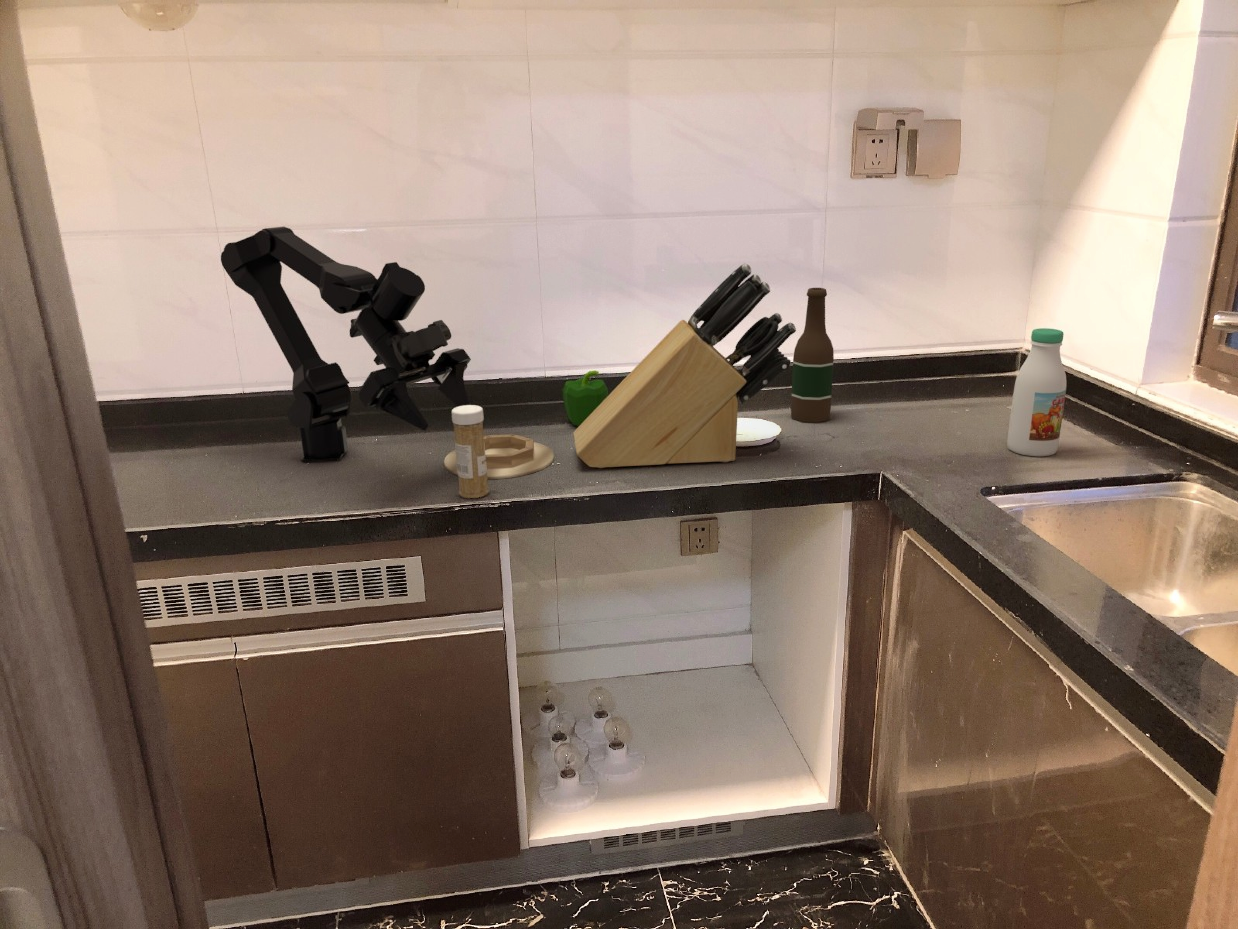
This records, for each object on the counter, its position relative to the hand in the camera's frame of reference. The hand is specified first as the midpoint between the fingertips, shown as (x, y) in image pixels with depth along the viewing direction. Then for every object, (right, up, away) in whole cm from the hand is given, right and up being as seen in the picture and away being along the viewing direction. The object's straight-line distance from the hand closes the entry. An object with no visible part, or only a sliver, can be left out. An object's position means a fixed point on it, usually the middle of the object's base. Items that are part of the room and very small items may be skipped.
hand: (448, 420), depth 137 cm
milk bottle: (+94, -4, +15) cm, 95 cm away
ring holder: (+5, -6, +16) cm, 18 cm away
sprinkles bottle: (+3, -11, +2) cm, 12 cm away
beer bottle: (+61, +2, +35) cm, 71 cm away
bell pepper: (+19, +1, +35) cm, 40 cm away
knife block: (+36, -5, +16) cm, 40 cm away
